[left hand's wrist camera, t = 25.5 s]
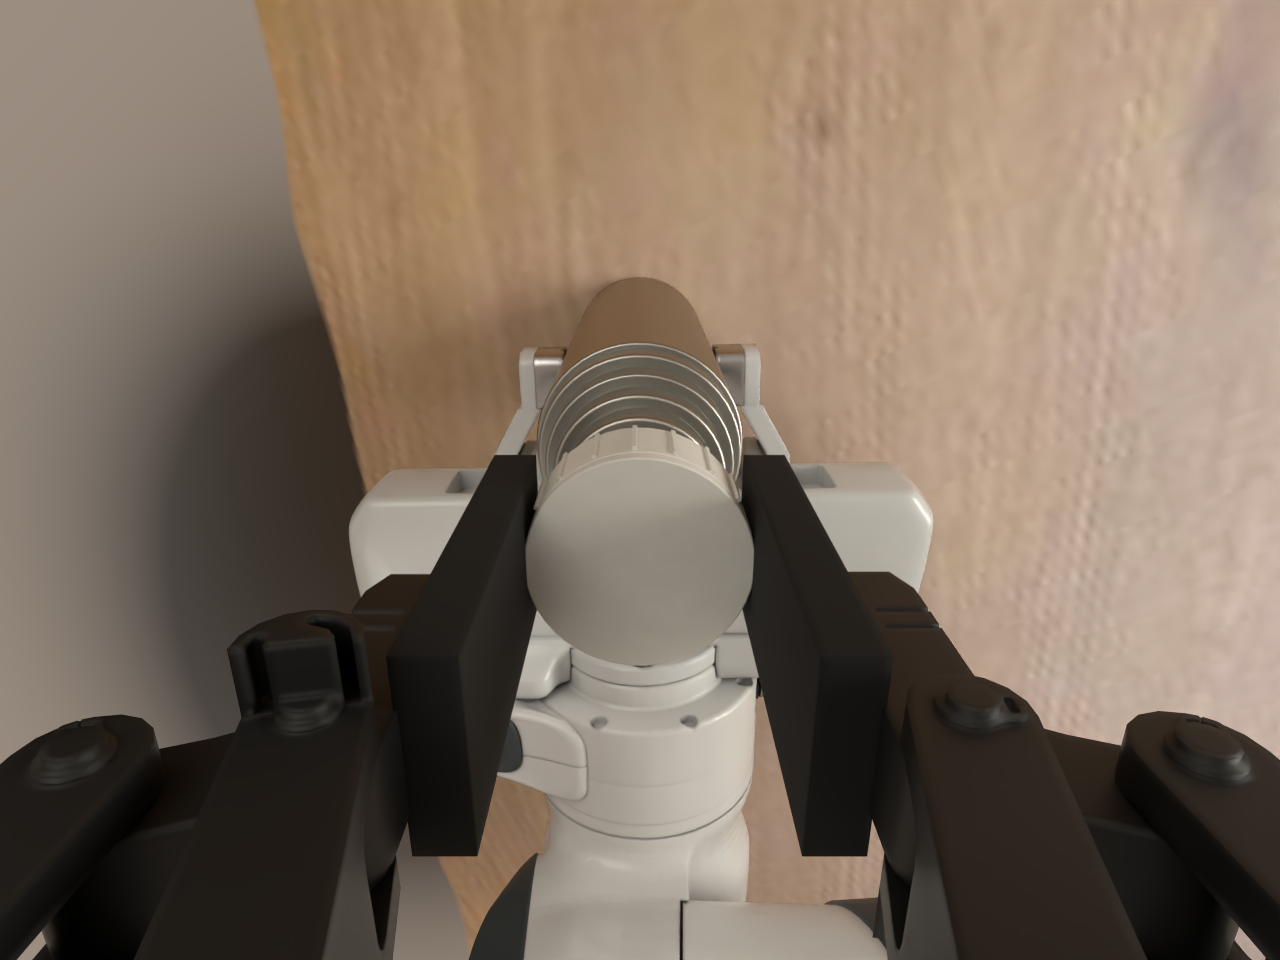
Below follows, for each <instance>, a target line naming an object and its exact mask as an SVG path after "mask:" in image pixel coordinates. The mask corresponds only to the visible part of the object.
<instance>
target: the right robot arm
mask: <svg viewBox="0 0 1280 960" xmlns="http://www.w3.org/2000/svg"><path fill="white" fill-rule="evenodd" d="M712 351H713V354H714V356H715V358H716V360H717V363H718V365H719V367H720V369H721V372H722V374H723V376H724V378H725V381H726V383H727V385H728V388H729V390H730V392H731V394H732V397H733V399H734V401H735V404H736V405H739V406H740V408H741V410H742V412H743V414H744V415H745V417H746V419H747V421H748V422H749V424H750V426H751V428H752V430H753V431H754V433H755V435H756V437H757V438H758V440H757V439H756V438H755V437H745V438H744V439H743V445H742V455H741V464H740V468H739V473H738V477H737V480H736V485H737V488H738V491H739V494H740V497H741V493H742V473H743V455H785V456H786V458H787V460H788V462H789V464H790V466H791V467H792V469H793V471H794V473H795V475H796V477H797V479H798V480H799V482H800V484H801V486H802V488H803V490H804V491H805V493H806V495H807V497H808V499H809V501H810V503H811V504H812V506H813V508H814V510H815V512H816V514H817V516H818V517H819V519H820V521H821V523H822V525H823V527H824V528H825V530H826V532H827V534H828V536H829V538H830V540H831V541H832V543H833V545H834V547H835V549H836V551H837V552H838V554H839V556H840V558H841V560H842V562H843V564H844V565H845V567H846V569H847V571H848V572H890V573H892V574H893V575H895V576H896V577H898V578H900V579H901V580H903V581H904V582H906V583H907V584H909V585H910V586H912V587H913V588H914V589H915V590H916V591H917V593H918V592H919V588H920V585H921V581H922V577H923V573H924V569H925V565H926V561H927V556H928V551H929V546H930V541H931V536H932V529H933V514H932V510H931V508H930V505H929V504H928V502H927V501H926V499H925V497H924V496H923V495H922V493H921V492H920V491H919V490H918V488H917V487H916V486H915V485H914V484H913V483H912V482H911V481H910V480H909V479H908V478H907V477H906V476H905V475H904V474H903V473H902V472H901V471H900V470H899V469H898V468H897V467H895V466H894V465H892V464H890V463H887V462H834V463H790V454H789V452H788V450H787V449H786V447H785V445H784V443H783V441H782V439H781V438H780V436H779V434H778V432H777V430H776V429H775V427H774V425H773V423H772V421H771V419H770V418H769V416H768V414H767V412H766V410H765V409H764V407H763V405H762V403H761V401H760V400H759V392H760V365H761V360H760V351H759V349H758V347H757V346H756V345H755V344H722V345H713V346H712ZM566 353H567V348H566V347H526V348H523V350H522V351H521V353H520V357H519V377H520V392H521V405H520V407H519V408H518V410H517V412H516V414H515V416H514V418H513V420H512V422H511V424H510V426H509V428H508V430H507V432H506V434H505V436H504V438H503V440H502V441H501V443H500V445H499V447H498V449H497V451H496V453H495V455H536V463H537V483H538V492H539V489H540V486H541V483H542V481H543V478H542V475H541V472H540V466H539V460H538V452H537V441H527V442H526V443H524V441H525V439H526V437H527V435H528V434H529V432H530V430H531V428H532V426H533V424H534V422H535V420H536V418H537V416H538V414H539V412H540V410H541V408H543V405H544V403H545V400H546V398H547V396H548V393H549V391H550V389H551V387H552V384H553V382H554V380H555V378H556V375H557V373H558V371H559V369H560V366H561V364H562V362H563V360H564V357H565V355H566ZM486 470H487V468H431V469H396V470H392V471H390V472H388V473H387V474H385V475H384V476H383V477H382V478H381V479H380V480H379V481H378V482H377V483H376V484H375V485H374V486H373V487H372V488H371V489H370V490H369V492H368V493H367V494H366V495H365V497H364V498H363V499H362V501H361V502H360V503H359V505H358V506H357V508H356V509H355V511H354V513H353V515H352V518H351V521H350V525H349V540H350V548H351V554H352V560H353V565H354V570H355V575H356V580H357V584H358V588H359V592H360V596H361V597H362V595H363V594H364V592H365V591H366V590H368V589H369V588H371V587H372V586H374V585H375V584H377V583H378V582H380V581H381V580H383V579H384V578H386V577H387V576H389V575H390V574H431V572H432V570H433V568H434V566H435V564H436V563H437V561H438V559H439V557H440V555H441V553H442V551H443V550H444V548H445V546H446V544H447V542H448V540H449V539H450V537H451V535H452V533H453V531H454V529H455V527H456V526H457V524H458V522H459V520H460V518H461V516H462V515H463V513H464V511H465V509H466V507H467V505H468V503H469V502H470V500H471V498H472V496H473V494H474V492H475V491H476V489H477V487H478V485H479V483H480V481H481V479H482V478H483V476H484V474H485V472H486ZM758 696H763V692H762V688H761V684H760V680H759V676H758V672H757V668H756V664H755V659H754V655H753V651H752V647H751V643H750V639H749V635H748V631H747V626H746V622H745V618H744V614H743V610H742V611H741V612H740V614H739V615H738V617H737V618H736V619H735V621H734V622H733V623H732V625H731V626H730V627H729V628H728V629H727V630H726V631H725V632H724V633H723V634H722V635H721V636H720V637H718V638H717V639H716V640H715V641H713V642H712V643H711V644H709V645H708V646H706V647H705V648H703V649H701V650H700V651H698V652H696V653H693V654H691V655H689V656H687V657H684V658H681V659H678V660H675V661H672V662H667V663H662V664H656V665H645V666H640V665H624V664H616V663H612V662H608V661H604V660H601V659H598V658H595V657H593V656H590V655H588V654H586V653H584V652H582V651H580V650H578V649H576V648H575V647H573V646H572V645H570V644H569V643H567V642H566V641H564V640H563V639H562V638H561V637H560V636H558V635H557V634H556V633H555V632H554V631H553V630H552V629H551V628H550V626H549V625H548V624H547V623H546V622H545V621H544V619H543V618H542V616H541V615H540V613H539V612H538V610H537V612H536V616H535V620H534V624H533V629H532V633H531V637H530V641H529V645H528V649H527V653H526V657H525V662H524V666H523V670H522V674H521V678H520V682H519V686H518V690H517V695H516V699H515V703H514V707H513V711H512V715H511V719H510V723H509V728H508V732H507V736H506V740H505V744H504V748H503V752H502V756H501V761H500V765H499V769H498V773H497V776H499V777H502V778H505V779H508V780H511V781H514V782H517V783H520V784H523V785H526V786H528V787H531V788H533V789H536V790H538V791H541V792H543V794H544V796H545V799H546V801H547V804H548V807H549V815H550V817H549V820H548V823H547V827H546V831H545V839H544V852H543V853H542V854H538V853H535V854H534V855H533V856H532V857H531V858H530V859H529V860H528V861H527V862H526V863H525V864H524V865H523V866H522V867H521V868H520V869H519V870H518V872H517V873H516V874H515V875H514V877H513V878H512V879H511V881H510V882H509V883H508V885H507V886H506V888H505V889H504V890H503V891H502V893H501V894H500V896H499V897H498V898H497V900H496V901H495V902H494V904H493V905H492V907H491V908H490V910H489V911H488V913H487V915H486V917H485V919H484V921H483V923H482V925H481V927H480V930H479V932H478V934H477V937H476V940H475V942H474V945H473V948H472V951H471V954H470V957H469V960H888V958H887V949H886V940H885V931H884V934H883V939H878V938H872V937H873V930H874V923H875V916H876V909H877V902H878V898H865V899H849V900H834V901H829V902H827V903H825V904H824V905H822V904H788V903H759V902H746V894H747V884H748V871H749V837H748V831H747V826H746V823H745V819H744V817H743V814H742V807H743V805H744V803H745V801H746V798H747V795H748V793H749V790H750V786H751V781H752V775H753V761H754V738H755V714H756V699H758Z"/></svg>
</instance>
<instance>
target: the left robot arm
mask: <svg viewBox="0 0 1280 960" xmlns="http://www.w3.org/2000/svg"><path fill="white" fill-rule="evenodd" d="M537 495H538V483H537V463H536V455H494V457H493V459H492V461H491V463H490V465H489V467H488V468H487V470H486V472H485V474H484V476H483V478H482V479H481V481H480V483H479V485H478V487H477V489H476V491H475V492H474V494H473V496H472V498H471V500H470V502H469V503H468V505H467V507H466V509H465V511H464V513H463V515H462V516H461V518H460V520H459V522H458V524H457V526H456V527H455V529H454V531H453V533H452V535H451V537H450V539H449V540H448V542H447V544H446V546H445V548H444V550H443V551H442V553H441V555H440V557H439V559H438V561H437V563H436V564H435V566H434V568H433V570H432V572H431V574H390V575H389V576H387V577H386V578H384V579H383V580H381V581H380V582H378V583H377V584H375V585H374V586H372V587H371V588H369V589H368V590H366V591H365V592H364V594H363V595H362V597H361V598H360V600H359V601H358V603H357V604H356V606H355V607H354V608H353V610H352V614H346V613H342V612H338V611H334V610H308V611H302V612H297V613H291V614H286V615H282V616H279V617H276V618H274V619H271V620H268V621H265V622H262V623H260V624H258V625H256V626H255V627H253V628H251V629H250V630H248V631H246V632H245V633H243V634H241V635H240V636H239V637H238V638H237V639H236V640H235V641H234V642H233V643H232V644H231V645H230V647H229V648H228V649H227V652H228V656H229V661H230V666H231V670H232V675H233V679H234V684H235V689H236V693H237V698H238V702H239V707H240V712H241V716H242V718H241V720H240V722H239V725H238V727H237V729H236V731H235V732H234V733H230V734H227V735H223V736H219V737H216V738H211V739H206V740H201V741H197V742H191V743H187V744H182V745H177V746H172V747H167V748H162V749H159V748H158V744H157V740H156V736H155V732H154V729H153V727H152V726H150V725H149V724H148V723H147V722H146V721H145V720H143V719H142V718H137V717H132V716H127V715H112V716H100V717H92V718H87V719H82V721H79V722H78V721H75V722H72V723H69V724H66V725H63V726H61V727H59V728H58V729H56V730H53V731H51V732H49V733H47V734H45V735H42V736H40V737H38V738H36V739H34V740H33V741H31V742H30V743H28V744H27V745H25V746H24V747H22V748H21V749H20V750H18V751H17V752H15V753H14V754H12V755H11V756H10V757H8V758H7V759H6V760H5V761H4V762H3V763H1V764H0V960H17V959H18V958H19V956H20V955H21V954H22V953H23V952H24V950H25V949H26V948H27V947H28V946H29V945H30V944H31V942H32V941H33V940H34V939H35V938H36V936H37V935H38V934H39V933H40V932H41V931H42V933H43V936H44V938H45V941H46V944H45V946H44V947H43V948H42V949H41V950H40V952H39V953H38V954H37V955H36V956H35V958H34V959H33V960H392V959H393V950H394V941H395V932H396V923H397V914H398V905H399V896H400V881H399V874H398V867H397V860H396V852H397V849H398V846H399V844H400V841H401V838H402V836H403V833H404V830H405V827H406V824H407V822H408V827H409V834H410V842H411V849H412V856H477V855H478V851H479V847H480V843H481V839H482V835H483V831H484V827H485V822H486V818H487V814H488V810H489V806H490V802H491V798H492V794H493V789H494V785H495V781H496V777H497V773H498V769H499V765H500V761H501V756H502V752H503V748H504V744H505V740H506V736H507V732H508V728H509V723H510V719H511V715H512V711H513V707H514V703H515V699H516V695H517V690H518V686H519V682H520V678H521V674H522V670H523V666H524V662H525V657H526V653H527V649H528V645H529V641H530V637H531V633H532V629H533V624H534V620H535V616H536V612H537V609H536V607H535V605H534V603H533V601H532V599H531V596H530V593H529V590H528V587H527V572H526V553H525V543H526V539H527V535H528V532H529V528H530V525H531V522H532V519H533V516H534V513H535V510H534V509H533V507H534V504H535V501H536V498H537ZM741 500H742V501H741V503H742V505H743V508H744V511H745V514H746V517H747V520H748V523H749V527H750V530H751V534H752V538H753V543H754V563H753V579H752V588H751V591H750V594H749V596H748V599H747V602H746V603H745V605H744V607H743V609H742V610H743V614H744V618H745V622H746V626H747V631H748V635H749V639H750V643H751V647H752V651H753V655H754V659H755V664H756V668H757V672H758V676H759V680H760V684H761V688H762V692H763V697H764V701H765V705H766V709H767V713H768V717H769V721H770V725H771V730H772V734H773V738H774V742H775V746H776V750H777V754H778V758H779V763H780V767H781V771H782V775H783V779H784V783H785V787H786V791H787V796H788V800H789V804H790V808H791V812H792V816H793V820H794V824H795V829H796V833H797V837H798V841H799V845H800V849H801V853H802V856H867V853H868V845H869V838H870V830H871V823H872V819H873V822H874V825H875V828H876V830H877V833H878V836H879V838H880V841H881V844H882V847H883V849H884V852H885V853H884V860H883V867H882V874H881V881H880V888H879V895H878V902H877V909H876V916H875V923H874V930H873V937H872V938H878V939H883V934H884V931H885V940H886V949H887V958H888V960H1251V959H1250V958H1249V957H1248V956H1247V955H1246V954H1245V952H1244V951H1243V950H1242V949H1241V948H1240V946H1239V945H1238V944H1237V943H1236V942H1235V941H1234V939H1235V937H1236V934H1237V931H1238V928H1239V927H1240V928H1241V929H1242V930H1243V932H1244V933H1245V934H1246V935H1247V936H1248V937H1249V938H1250V940H1251V941H1252V942H1253V943H1254V944H1255V945H1256V947H1257V948H1258V949H1259V950H1260V951H1261V952H1262V954H1263V955H1264V956H1265V957H1266V959H1265V960H1280V760H1279V759H1278V758H1277V757H1276V756H1274V755H1273V754H1272V753H1271V752H1270V751H1268V750H1267V749H1265V748H1264V747H1262V746H1261V745H1259V744H1258V743H1256V742H1255V741H1253V740H1252V739H1250V738H1249V737H1247V736H1246V735H1244V734H1242V733H1240V732H1237V731H1235V730H1233V729H1231V728H1228V727H1226V726H1224V725H1222V724H1221V723H1219V722H1217V721H1214V720H1211V719H1208V718H1204V717H1202V718H1200V717H1199V716H1197V715H1191V714H1186V713H1175V712H1164V711H1156V712H1151V713H1145V714H1140V715H1137V716H1136V717H1135V718H1134V719H1133V720H1132V721H1130V722H1129V723H1128V724H1127V726H1126V730H1125V734H1124V738H1123V741H1122V745H1121V746H1120V745H1115V744H1110V743H1105V742H1100V741H1095V740H1090V739H1085V738H1080V737H1075V736H1070V735H1066V734H1062V733H1058V732H1055V731H1051V730H1047V729H1044V728H1043V726H1042V723H1041V721H1040V719H1039V717H1038V715H1037V714H1036V713H1035V711H1034V710H1033V709H1032V707H1031V706H1030V705H1029V703H1028V702H1027V701H1026V700H1024V699H1023V698H1021V697H1020V696H1019V695H1017V694H1016V693H1014V692H1013V691H1011V690H1010V689H1009V688H1007V687H1004V686H1002V685H999V684H997V683H995V682H992V681H990V680H987V679H985V678H981V677H976V676H974V675H973V673H972V672H971V670H970V669H969V667H968V666H967V664H966V663H965V662H964V660H963V659H962V657H961V656H960V654H959V653H958V651H957V650H956V648H955V647H954V645H953V644H952V643H951V641H950V640H949V638H948V637H947V635H946V634H945V632H944V631H943V629H942V628H939V624H938V622H937V621H936V619H935V618H934V616H933V615H932V613H931V612H928V607H927V606H926V605H925V603H924V602H923V600H922V599H921V597H920V596H919V594H918V593H917V591H916V590H915V589H914V588H913V587H912V586H910V585H909V584H907V583H906V582H904V581H903V580H901V579H900V578H898V577H896V576H895V575H893V574H892V573H890V572H848V571H847V569H846V567H845V565H844V564H843V562H842V560H841V558H840V556H839V554H838V552H837V551H836V549H835V547H834V545H833V543H832V541H831V540H830V538H829V536H828V534H827V532H826V530H825V528H824V527H823V525H822V523H821V521H820V519H819V517H818V516H817V514H816V512H815V510H814V508H813V506H812V504H811V503H810V501H809V499H808V497H807V495H806V493H805V491H804V490H803V488H802V486H801V484H800V482H799V480H798V479H797V477H796V475H795V473H794V471H793V469H792V467H791V466H790V464H789V462H788V460H787V458H786V456H785V455H743V473H742V493H741Z"/></svg>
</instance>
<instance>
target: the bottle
mask: <svg viewBox="0 0 1280 960" xmlns="http://www.w3.org/2000/svg"><path fill="white" fill-rule="evenodd" d="M633 425H637V428H654V429H660V430H665V431H669V432H671V430H675V431H676V434H679V435H681V436H683V437H686V438H688V439H690V440H692V441H694V442H695V443H697V444H699V445H700V446H702V447H703V448H705V446H706V447H708V448H709V450H710V453H711V454H712V455H713V456H714V457H715V458H716V459H717V460H718V461H719V462H720V463H721V464H722V465H723V467H724V468H725V470H726V471H727V472H728V474H729V473H732V474H733V476H734V479H735V482H736V480H737V477H738V473H739V468H740V464H741V455H742V445H743V434H742V425H741V420H740V415H739V412H738V409H737V406H736V404H735V401H734V399H733V397H732V394H731V392H730V390H729V388H728V385H727V383H726V381H725V378H724V376H723V374H722V372H721V369H720V367H719V365H718V363H717V360H716V358H715V356H714V354H713V351H712V349H711V347H710V345H709V342H708V340H707V338H706V336H705V333H704V331H703V329H702V327H701V324H700V322H699V320H698V318H697V315H696V313H695V311H694V309H693V307H692V306H691V304H690V303H689V302H688V300H687V299H686V298H685V297H684V296H683V295H682V294H681V293H680V292H679V291H677V290H676V289H675V288H673V287H672V286H670V285H668V284H666V283H664V282H662V281H659V280H655V279H651V278H629V279H625V280H621V281H618V282H616V283H613V284H612V285H610V286H608V287H606V288H605V289H604V290H602V291H601V292H600V293H599V294H598V295H597V296H596V297H595V298H594V299H593V300H592V301H591V303H590V304H589V305H588V307H587V309H586V311H585V313H584V315H583V317H582V319H581V322H580V324H579V326H578V328H577V330H576V333H575V335H574V337H573V339H572V342H571V344H570V346H569V348H568V351H567V353H566V355H565V357H564V360H563V362H562V364H561V366H560V369H559V371H558V373H557V375H556V378H555V380H554V382H553V384H552V387H551V389H550V391H549V393H548V396H547V398H546V400H545V403H544V405H543V408H542V410H541V414H540V418H539V422H538V429H537V452H538V460H539V466H540V472H541V475H542V478H543V480H544V481H547V479H548V477H549V476H550V474H551V473H552V471H553V470H554V468H555V467H556V466H557V465H558V464H559V462H560V461H561V460H562V457H563V454H564V453H565V452H567V453H570V452H571V451H572V450H573V449H575V448H576V447H578V446H579V445H580V444H582V443H584V442H586V441H588V440H589V439H591V438H593V437H594V436H595V434H596V433H599V434H600V435H601V434H604V433H606V432H610V431H614V430H619V429H626V428H632V426H633Z"/></svg>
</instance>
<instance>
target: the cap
mask: <svg viewBox="0 0 1280 960" xmlns="http://www.w3.org/2000/svg"><path fill="white" fill-rule="evenodd" d="M741 501H742V500H741V497H740V494H739V491H738V488H737V485H736V482H735V479H734V476H733V474H732V473H729V474H728V472H727V471H726V470H725V468H724V467H723V465H722V464H721V463H720V462H719V461H718V460H717V459H716V458H715V457H714V456H713V455H712V454H711V453H710V450H709V448H708V447H706V446H705V448H703V447H702V446H700V445H699V444H697V443H695V442H694V441H692V440H690V439H688V438H686V437H683V436H681V435H679V434H676V431H675V430H671V432H669V431H665V430H660V429H654V428H637V425H633V426H632V428H626V429H619V430H614V431H610V432H606V433H604V434H601V435H600V434H599V433H596V434H595V436H594V437H593V438H591V439H589V440H588V441H586V442H584V443H582V444H580V445H579V446H578V447H576V448H575V449H573V450H572V451H571V452H570V453H567V452H565V453H564V454H563V457H562V460H561V461H560V462H559V464H558V465H557V466H556V467H555V468H554V470H553V471H552V473H551V474H550V476H549V477H548V479H547V481H544V480H543V481H542V483H541V486H540V489H539V492H538V495H537V498H536V501H535V504H534V507H533V509H534V510H535V513H534V516H533V519H532V522H531V525H530V528H529V532H528V535H527V539H526V543H525V553H526V572H527V587H528V590H529V593H530V596H531V599H532V601H533V603H534V605H535V607H536V609H537V610H538V612H539V613H540V615H541V616H542V618H543V619H544V621H545V622H546V623H547V624H548V625H549V626H550V628H551V629H552V630H553V631H554V632H555V633H556V634H557V635H558V636H560V637H561V638H562V639H563V640H564V641H566V642H567V643H569V644H570V645H572V646H573V647H575V648H576V649H578V650H580V651H582V652H584V653H586V654H588V655H590V656H593V657H595V658H598V659H601V660H604V661H608V662H612V663H616V664H624V665H640V666H645V665H656V664H662V663H667V662H672V661H675V660H678V659H681V658H684V657H687V656H689V655H691V654H693V653H696V652H698V651H700V650H701V649H703V648H705V647H706V646H708V645H709V644H711V643H712V642H713V641H715V640H716V639H717V638H718V637H720V636H721V635H722V634H723V633H724V632H725V631H726V630H727V629H728V628H729V627H730V626H731V625H732V623H733V622H734V621H735V619H736V618H737V617H738V615H739V614H740V612H741V611H742V609H743V607H744V605H745V603H746V602H747V599H748V596H749V594H750V591H751V588H752V579H753V563H754V543H753V538H752V534H751V530H750V527H749V523H748V520H747V517H746V514H745V511H744V508H743V505H742V503H741Z"/></svg>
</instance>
